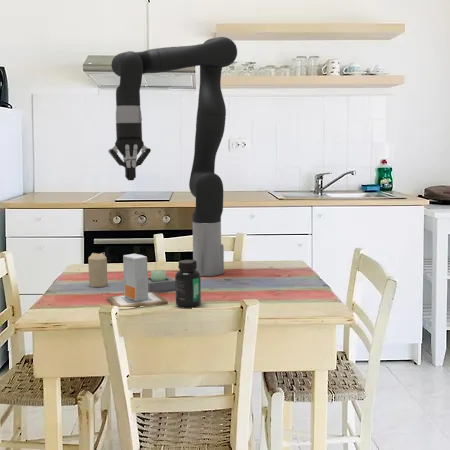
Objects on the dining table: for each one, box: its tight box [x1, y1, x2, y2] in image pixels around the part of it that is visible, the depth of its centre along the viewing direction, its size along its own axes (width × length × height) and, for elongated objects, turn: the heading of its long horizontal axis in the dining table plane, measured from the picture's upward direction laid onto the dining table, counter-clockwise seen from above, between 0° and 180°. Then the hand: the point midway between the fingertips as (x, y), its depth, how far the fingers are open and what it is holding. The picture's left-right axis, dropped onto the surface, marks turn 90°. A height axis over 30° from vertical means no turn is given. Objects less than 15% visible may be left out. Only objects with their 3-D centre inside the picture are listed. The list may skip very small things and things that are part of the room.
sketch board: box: [105, 292, 169, 307], centre depth 185 cm, size 14×12×1 cm
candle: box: [87, 252, 108, 288], centre depth 204 cm, size 6×6×10 cm
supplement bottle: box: [174, 259, 202, 309], centre depth 180 cm, size 7×7×12 cm
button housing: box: [148, 274, 176, 294], centre depth 199 cm, size 8×8×3 cm
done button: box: [150, 269, 167, 282], centre depth 198 cm, size 4×4×4 cm
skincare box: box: [122, 253, 149, 301], centre depth 184 cm, size 6×4×12 cm
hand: (130, 180), depth 200 cm, fingers closed
